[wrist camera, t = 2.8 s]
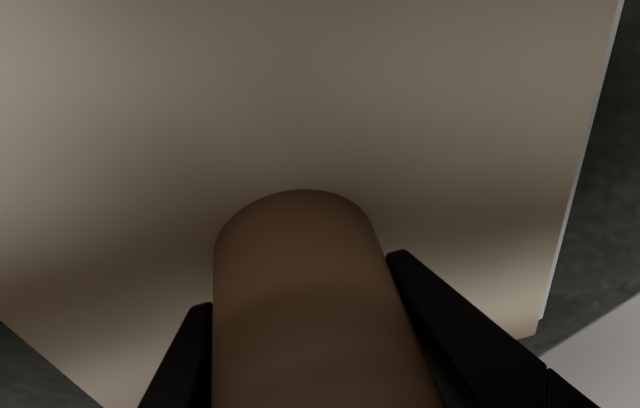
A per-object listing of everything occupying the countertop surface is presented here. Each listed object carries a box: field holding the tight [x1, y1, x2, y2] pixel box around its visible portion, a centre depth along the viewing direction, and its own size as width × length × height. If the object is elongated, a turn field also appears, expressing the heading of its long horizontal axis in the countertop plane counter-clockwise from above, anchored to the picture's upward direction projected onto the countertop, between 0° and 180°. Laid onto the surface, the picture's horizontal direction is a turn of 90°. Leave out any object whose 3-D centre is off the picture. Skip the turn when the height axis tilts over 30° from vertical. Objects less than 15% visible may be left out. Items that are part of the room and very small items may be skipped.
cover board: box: [0, 0, 618, 408], centre depth 8 cm, size 13×13×6 cm
